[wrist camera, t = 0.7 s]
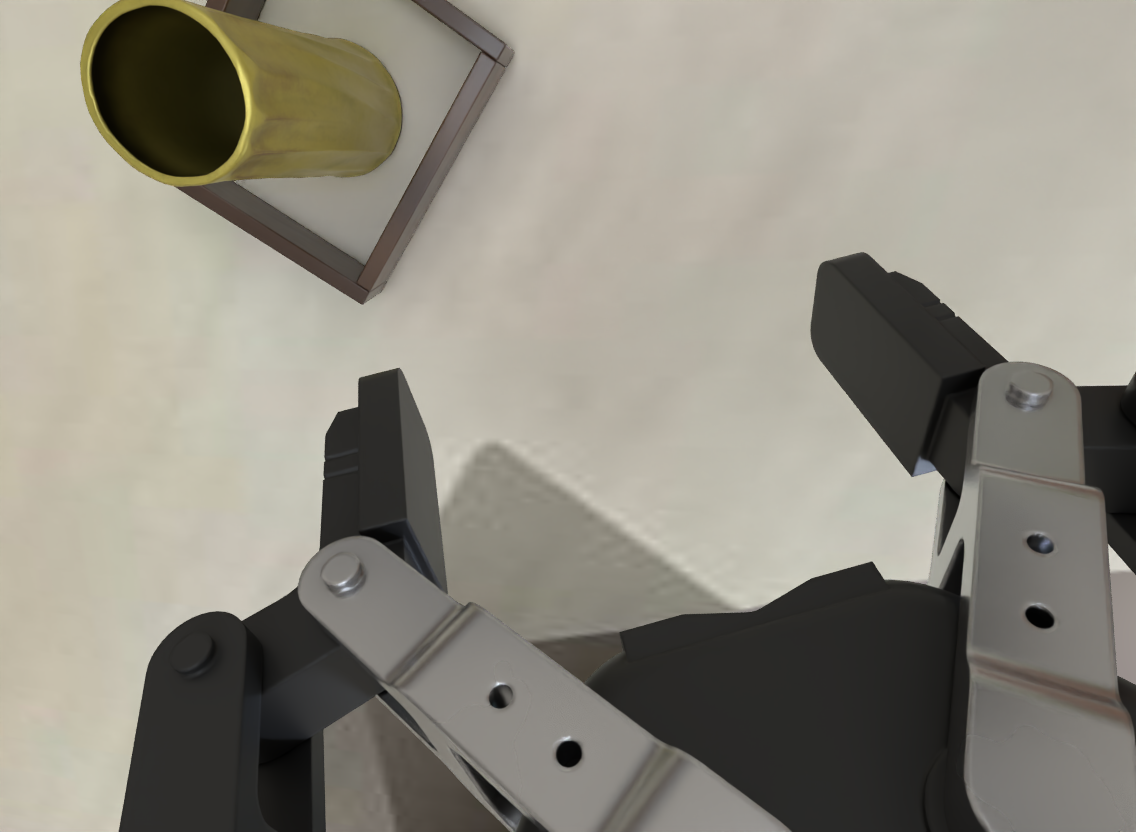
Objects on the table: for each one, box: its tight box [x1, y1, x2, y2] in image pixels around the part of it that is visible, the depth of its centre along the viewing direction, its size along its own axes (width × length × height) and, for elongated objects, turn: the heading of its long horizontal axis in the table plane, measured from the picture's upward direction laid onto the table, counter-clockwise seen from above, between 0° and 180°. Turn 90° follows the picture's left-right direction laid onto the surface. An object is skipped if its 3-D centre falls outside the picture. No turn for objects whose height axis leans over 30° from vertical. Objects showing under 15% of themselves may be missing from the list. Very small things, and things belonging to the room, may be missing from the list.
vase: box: [80, 0, 402, 187], centre depth 27 cm, size 6×6×14 cm
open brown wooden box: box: [174, 0, 514, 305], centre depth 32 cm, size 14×12×3 cm
